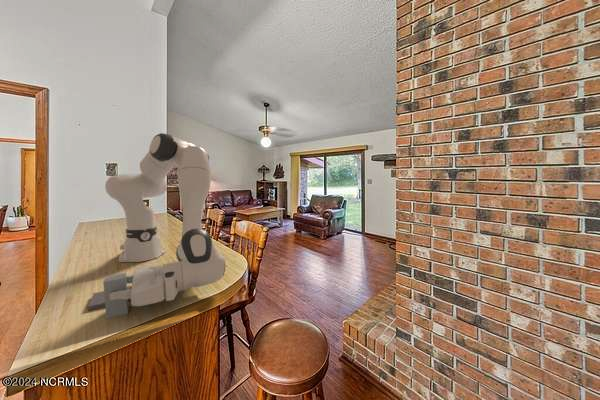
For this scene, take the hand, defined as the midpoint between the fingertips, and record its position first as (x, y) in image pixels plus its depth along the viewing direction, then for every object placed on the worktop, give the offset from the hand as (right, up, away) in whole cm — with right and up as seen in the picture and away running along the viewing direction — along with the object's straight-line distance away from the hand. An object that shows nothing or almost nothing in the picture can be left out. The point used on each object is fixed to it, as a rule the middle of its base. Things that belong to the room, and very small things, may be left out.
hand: (111, 289), depth 65 cm
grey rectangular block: (+1, -8, +1) cm, 8 cm away
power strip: (-1, -7, +12) cm, 14 cm away
